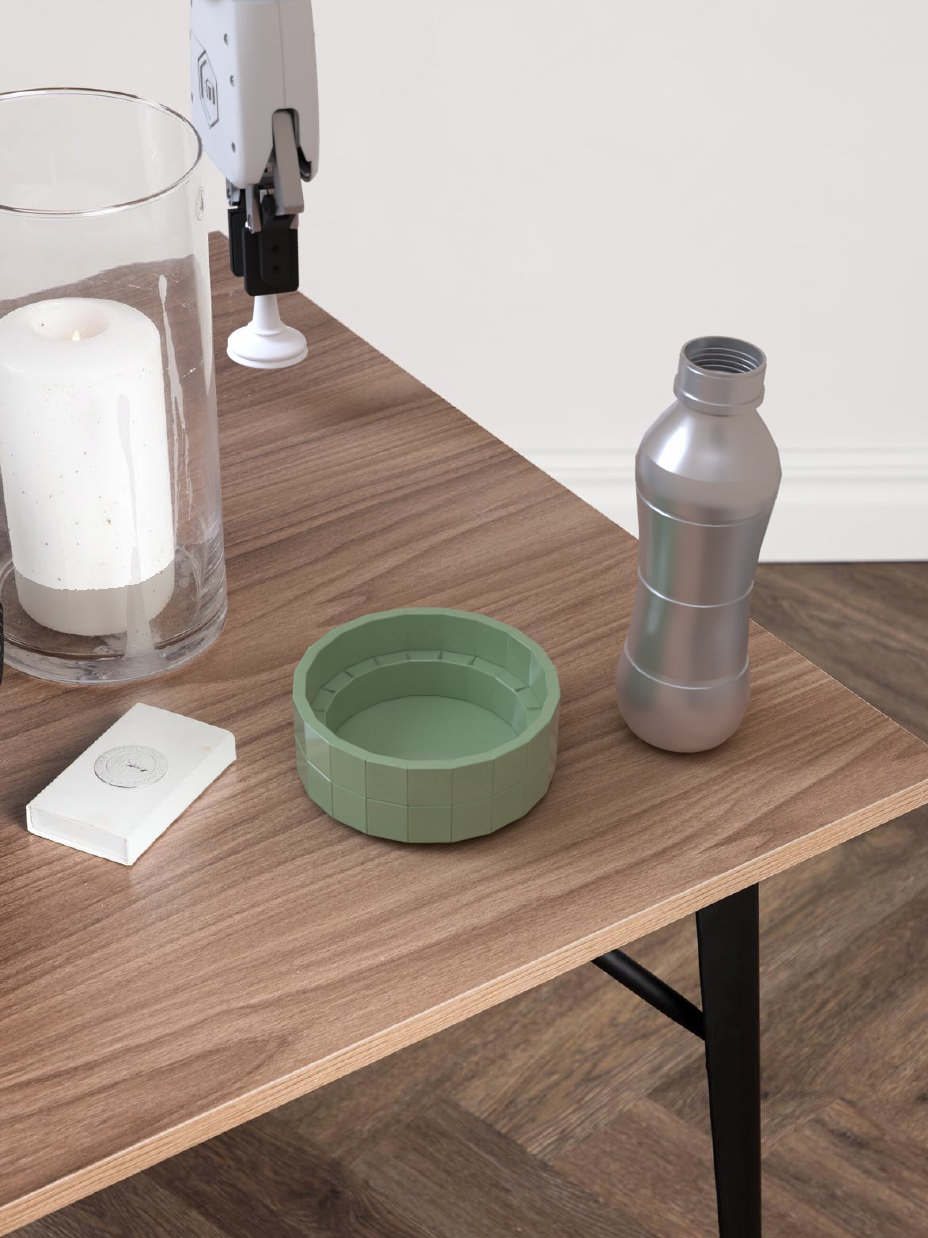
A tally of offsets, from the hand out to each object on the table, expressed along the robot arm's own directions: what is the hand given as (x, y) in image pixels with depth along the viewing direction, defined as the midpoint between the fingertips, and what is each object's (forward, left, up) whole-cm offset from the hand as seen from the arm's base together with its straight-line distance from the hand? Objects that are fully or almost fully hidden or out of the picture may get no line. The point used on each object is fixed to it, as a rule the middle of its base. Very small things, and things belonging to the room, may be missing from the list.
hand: (264, 280), depth 102 cm
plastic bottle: (+30, -24, -9) cm, 40 cm away
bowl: (+19, -31, -8) cm, 37 cm away
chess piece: (0, 0, -5) cm, 5 cm away
